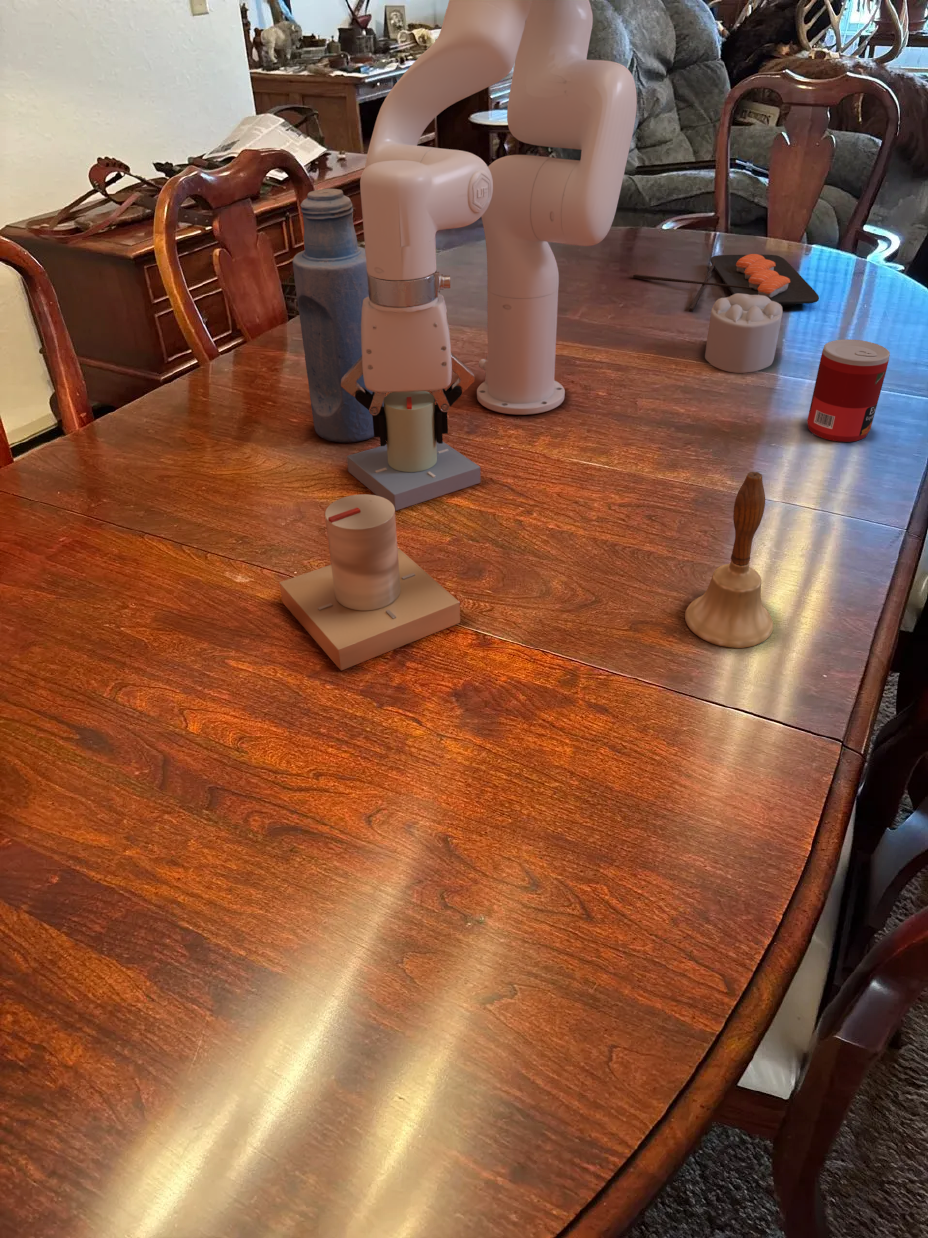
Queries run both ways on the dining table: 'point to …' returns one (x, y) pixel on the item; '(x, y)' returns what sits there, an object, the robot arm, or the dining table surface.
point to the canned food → (847, 389)
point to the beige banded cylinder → (363, 551)
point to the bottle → (332, 313)
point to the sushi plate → (756, 279)
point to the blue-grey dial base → (413, 476)
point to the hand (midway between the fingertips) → (411, 438)
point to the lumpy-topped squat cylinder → (743, 333)
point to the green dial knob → (410, 430)
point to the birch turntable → (369, 614)
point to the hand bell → (735, 582)
